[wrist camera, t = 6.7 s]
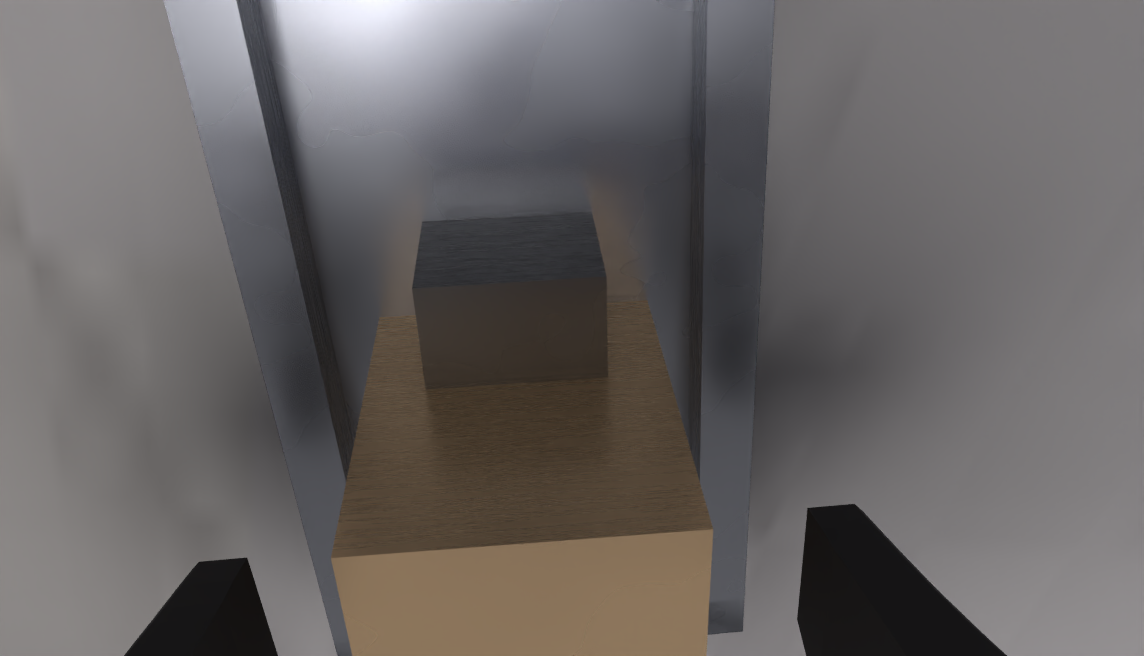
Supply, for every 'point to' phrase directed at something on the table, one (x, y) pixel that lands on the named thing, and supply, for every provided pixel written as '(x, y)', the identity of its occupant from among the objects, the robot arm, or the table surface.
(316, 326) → the tray
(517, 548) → the wooden block with cap
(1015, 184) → the table surface
